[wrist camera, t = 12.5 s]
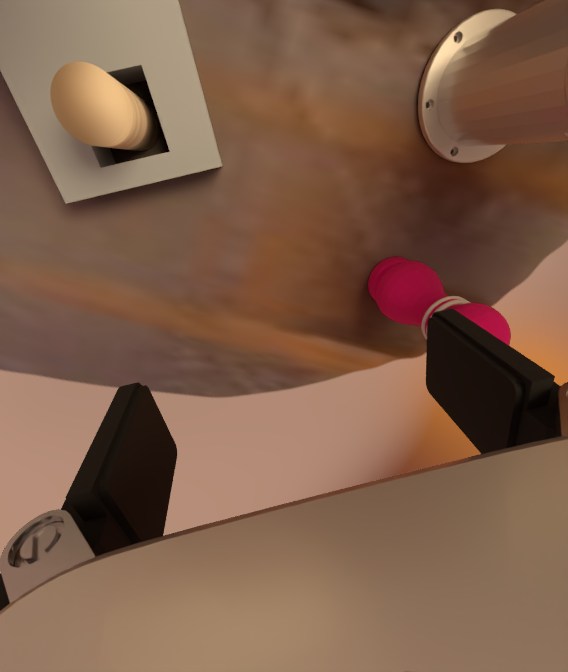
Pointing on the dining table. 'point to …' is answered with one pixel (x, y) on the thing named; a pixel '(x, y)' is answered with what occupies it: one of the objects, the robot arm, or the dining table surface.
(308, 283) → the dining table surface
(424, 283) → the pepper mill
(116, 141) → the peg
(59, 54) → the socket block
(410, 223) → the dining table surface
